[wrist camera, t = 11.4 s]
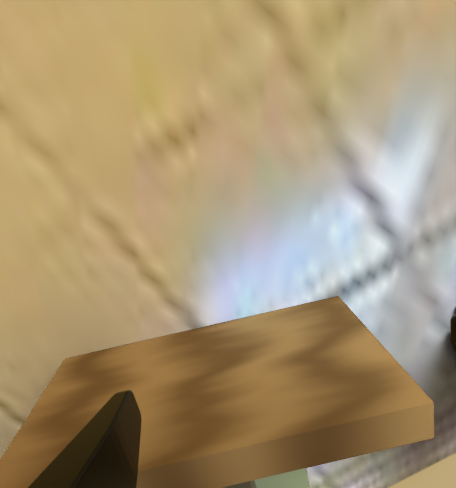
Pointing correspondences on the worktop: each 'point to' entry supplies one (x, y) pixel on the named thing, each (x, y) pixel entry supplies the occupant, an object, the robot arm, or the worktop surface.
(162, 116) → the worktop surface
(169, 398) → the wooden board
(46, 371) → the worktop surface
